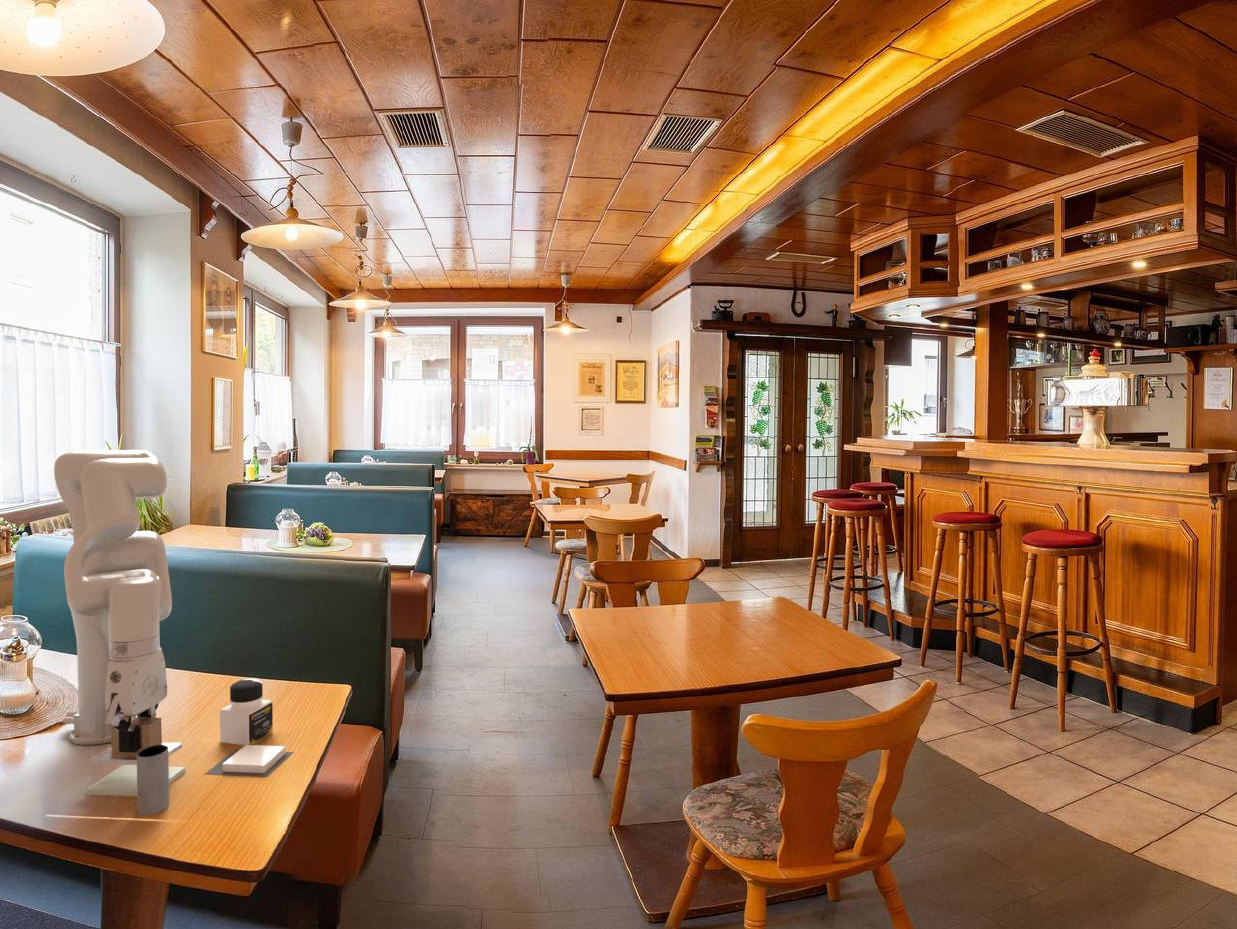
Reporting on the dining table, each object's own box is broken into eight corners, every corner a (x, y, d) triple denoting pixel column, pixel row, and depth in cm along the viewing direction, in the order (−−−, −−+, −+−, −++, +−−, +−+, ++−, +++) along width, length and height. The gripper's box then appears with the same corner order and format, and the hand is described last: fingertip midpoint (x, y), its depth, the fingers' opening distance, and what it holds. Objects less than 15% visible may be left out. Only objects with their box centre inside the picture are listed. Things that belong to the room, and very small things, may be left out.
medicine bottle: (249, 747, 146) (249, 689, 145) (219, 743, 147) (218, 686, 146) (273, 732, 152) (273, 677, 152) (244, 729, 154) (243, 674, 153)
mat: (204, 775, 134) (204, 774, 134) (235, 751, 144) (235, 749, 144) (267, 778, 133) (267, 776, 133) (293, 753, 143) (293, 752, 143)
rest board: (85, 795, 126) (85, 789, 126) (123, 771, 135) (123, 764, 135) (152, 798, 125) (152, 791, 125) (185, 773, 134) (185, 767, 134)
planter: (147, 802, 124) (146, 744, 123) (174, 802, 124) (173, 744, 124) (131, 817, 119) (130, 757, 119) (160, 816, 120) (159, 756, 119)
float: (90, 763, 126) (88, 728, 126) (119, 746, 133) (118, 712, 133) (156, 764, 126) (155, 729, 126) (182, 747, 133) (181, 714, 133)
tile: (222, 763, 135) (264, 765, 134) (246, 744, 142) (285, 746, 142) (222, 772, 135) (264, 773, 134) (246, 752, 143) (285, 754, 142)
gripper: (121, 662, 120) (123, 769, 121) (184, 634, 137) (186, 728, 138) (78, 660, 121) (80, 767, 121) (146, 633, 137) (148, 727, 138)
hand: (136, 745), depth 130 cm, fingers closed on float, 3 cm apart
